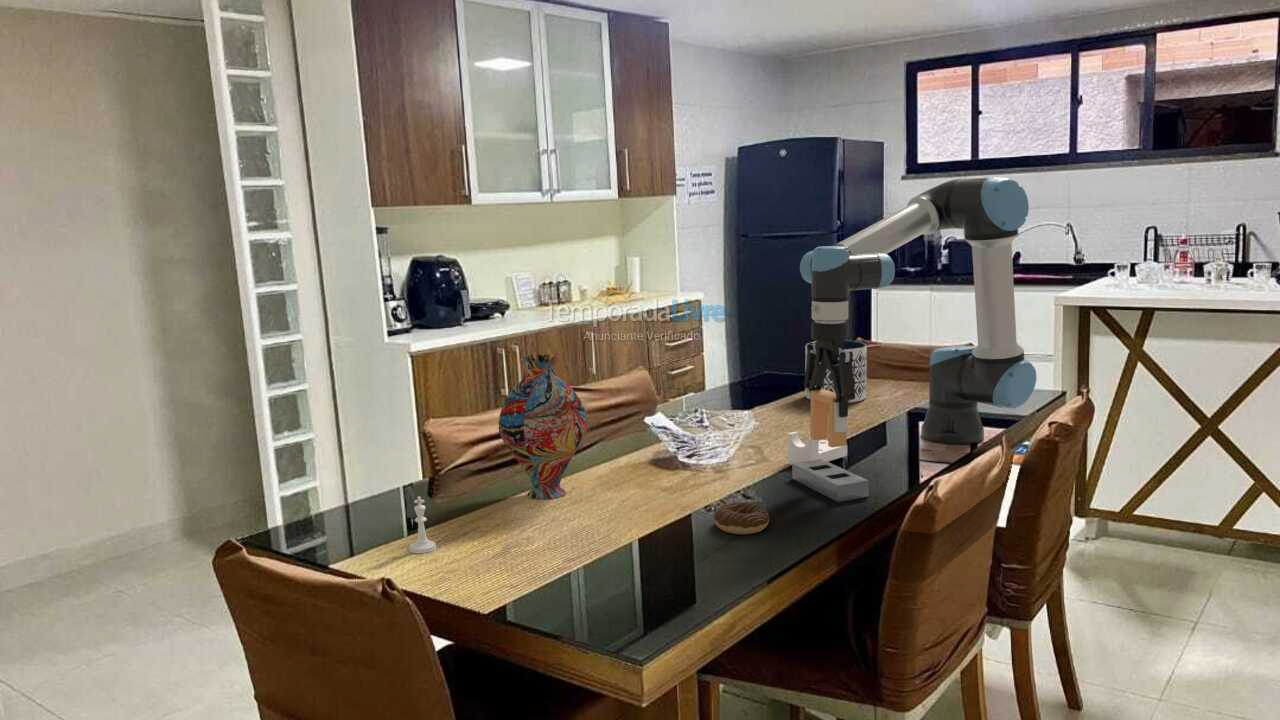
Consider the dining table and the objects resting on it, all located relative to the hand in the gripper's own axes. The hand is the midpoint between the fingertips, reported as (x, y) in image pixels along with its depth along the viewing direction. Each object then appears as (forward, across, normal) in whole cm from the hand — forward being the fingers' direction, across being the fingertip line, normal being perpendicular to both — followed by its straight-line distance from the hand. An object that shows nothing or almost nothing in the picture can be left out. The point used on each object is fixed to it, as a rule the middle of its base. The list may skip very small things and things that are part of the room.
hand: (828, 426), depth 203 cm
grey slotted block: (+13, 0, 0) cm, 13 cm away
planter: (+13, -74, +50) cm, 91 cm away
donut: (+14, +13, -28) cm, 34 cm away
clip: (+3, 0, 0) cm, 3 cm away
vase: (+14, -24, -56) cm, 62 cm away
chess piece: (+15, -3, -86) cm, 87 cm away
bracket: (+14, -18, +9) cm, 25 cm away
